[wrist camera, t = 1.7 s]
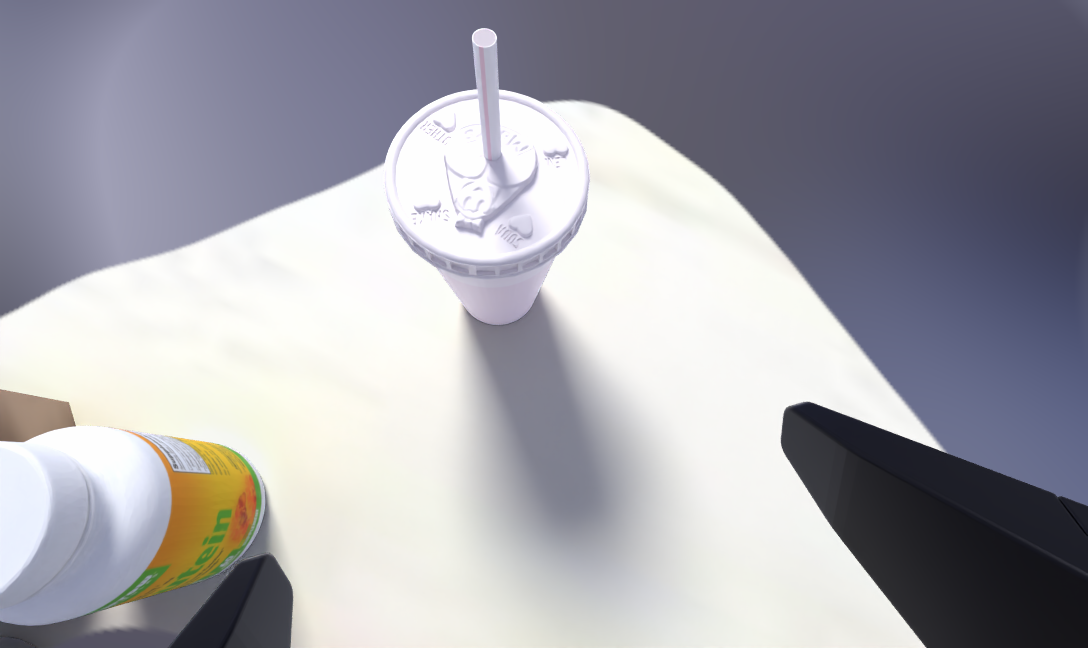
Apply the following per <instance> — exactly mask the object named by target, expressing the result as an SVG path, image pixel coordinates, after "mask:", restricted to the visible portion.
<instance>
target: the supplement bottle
mask: <svg viewBox="0 0 1088 648" xmlns="http://www.w3.org/2000/svg"><path fill="white" fill-rule="evenodd" d="M264 511H265V489H264V485H263V482H262V479H261V476H260V474H259V472H258V470H257V469H256V468H255V466H254V465H253V464H252V463H251V461H250V460H249V459H248V458H246V457H245V456H244V455H243V454H241V453H240V452H238V451H236V450H234V449H232V448H230V447H227V446H223V445H219V444H214V443H209V442H202V441H195V440H189V439H183V438H176V437H169V436H162V435H155V434H148V433H141V432H135V431H128V430H123V429H116V428H109V427H99V426H76V427H68V428H62V429H58V430H54V431H50V432H47V433H44V434H42V435H39V436H36V437H34V438H32V439H30V440H28V441H26V442H6V441H0V621H2V622H5V623H11V624H17V625H27V626H34V625H45V624H52V623H57V622H61V621H66V620H70V619H74V618H78V617H81V616H85V615H88V614H91V613H94V612H97V611H101V610H105V609H108V608H111V607H115V606H118V605H121V604H125V603H129V602H133V601H136V600H139V599H142V598H146V597H149V596H153V595H156V594H159V593H163V592H167V591H170V590H174V589H177V588H181V587H184V586H188V585H192V584H195V583H198V582H201V581H204V580H206V579H209V578H211V577H213V576H215V575H217V574H219V573H221V572H223V571H224V570H226V569H227V568H229V567H230V566H231V565H233V564H234V563H235V562H236V561H237V560H238V559H239V558H240V557H241V556H242V555H243V554H244V553H245V552H246V550H247V549H248V548H249V546H250V545H251V544H252V542H253V541H254V539H255V537H256V535H257V533H258V531H259V529H260V526H261V523H262V520H263V516H264Z"/></svg>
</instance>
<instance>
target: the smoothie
mask: <svg viewBox="0 0 1088 648" xmlns="http://www.w3.org/2000/svg"><path fill="white" fill-rule="evenodd" d="M472 42H473V52H474V62H475V73H476V81H477V90H469V91H464V92H459V93H455V94H452V95H448V96H446V97H443V98H440V99H438V100H437V101H434V102H432V103H430V104H429V105H427V106H425V107H424V108H422V109H421V110H420V111H419V112H417V113H416V114H415V115H413V116H412V117H411V118H410V119H409V120H408V121H407V122H406V123H405V124H404V125H403V127H402V128H401V129H400V131H399V132H398V133H397V135H396V137H395V138H394V140H393V142H392V144H391V146H390V148H389V151H388V154H387V157H386V161H385V166H384V189H385V194H386V198H387V202H388V204H389V210H390V212H391V215H392V218H393V220H394V223H395V225H396V228H397V230H398V232H399V234H400V235H401V236H402V237H403V239H404V240H405V241H406V242H407V244H408V245H409V246H410V248H411V249H412V250H413V251H414V252H415V253H416V254H418V255H419V256H420V257H422V258H423V259H425V260H426V261H427V262H429V263H430V264H431V265H433V266H434V267H436V268H437V269H438V271H439V272H440V274H441V275H442V276H443V278H444V279H445V281H446V282H447V283H448V285H449V286H450V287H451V289H452V290H453V292H454V293H455V294H456V296H457V297H458V299H459V300H460V301H461V303H462V304H463V306H464V307H465V308H466V310H467V311H468V312H469V313H470V314H471V315H472V316H473V317H474V318H476V319H477V320H479V321H481V322H484V323H487V324H491V325H504V324H509V323H512V322H515V321H517V320H518V319H520V318H521V317H523V316H524V315H525V314H526V313H527V312H528V311H529V310H530V308H531V307H532V305H533V303H534V301H535V299H536V297H537V294H538V292H539V290H540V288H541V286H542V284H543V282H544V280H545V278H546V276H547V273H548V271H549V269H550V267H551V265H552V263H553V261H554V259H555V257H556V256H557V255H559V254H560V253H561V252H562V251H563V250H564V249H565V247H566V246H567V245H568V244H569V243H570V241H571V240H572V239H573V238H574V236H575V235H576V234H577V232H578V230H579V227H580V225H581V223H582V220H583V218H584V216H585V213H586V209H587V199H588V191H589V183H590V171H589V164H588V160H587V156H586V153H585V150H584V148H583V145H582V143H581V141H580V139H579V138H578V136H577V135H576V133H575V131H574V130H573V129H572V128H571V126H570V125H569V124H568V123H567V122H566V121H565V120H564V119H563V118H562V117H561V116H560V115H559V114H557V113H556V112H555V111H554V110H552V109H551V108H549V107H548V106H546V105H544V104H543V103H541V102H539V101H537V100H535V99H533V98H530V97H527V96H525V95H522V94H518V93H515V92H509V91H504V90H499V84H498V60H497V37H496V34H495V33H494V32H493V31H492V30H490V29H486V28H485V29H484V28H483V29H479V30H477V31H475V33H474V34H473V36H472Z"/></svg>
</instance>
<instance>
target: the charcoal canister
mask: <svg viewBox="0 0 1088 648" xmlns="http://www.w3.org/2000/svg"><path fill="white" fill-rule="evenodd" d="M0 648H36V647H34V646H33V645H31V644H30V643H28V642H25V641H23V640H20V639H15V638H7V637H1V638H0Z"/></svg>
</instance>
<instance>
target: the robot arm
mask: <svg viewBox="0 0 1088 648" xmlns="http://www.w3.org/2000/svg"><path fill="white" fill-rule="evenodd" d="M781 446H782V449H783V451H784V453H785V455H786V457H787V458H788V460H789V462H790V463H791V465H792V466H793V468H794V469H795V471H796V472H797V474H798V476H799V477H800V479H801V480H802V482H803V483H804V485H805V487H806V488H807V490H808V491H809V493H810V494H811V496H812V498H813V499H814V501H815V502H816V504H817V505H818V507H819V508H820V510H821V512H822V513H823V515H824V516H825V518H826V519H827V521H828V522H829V524H830V525H831V527H832V528H833V529H834V531H835V532H836V533H837V535H838V536H839V537H840V539H841V540H842V541H843V542H844V544H845V545H846V546H847V547H848V549H849V550H850V551H851V553H852V554H853V555H854V556H855V558H856V559H857V560H858V561H859V563H860V564H861V565H862V567H863V568H864V569H865V570H866V572H867V573H868V574H869V575H870V577H871V578H872V579H873V581H874V582H875V583H876V584H877V586H878V587H879V588H880V589H881V591H882V592H883V593H884V595H885V596H886V597H887V598H888V600H889V601H890V602H891V603H892V605H893V606H894V607H895V609H896V610H897V611H898V612H899V614H900V615H901V616H902V617H903V619H904V620H905V621H906V623H907V624H908V625H909V626H910V628H911V629H912V630H913V631H914V633H915V634H916V635H917V637H918V638H919V639H920V640H921V642H922V643H923V644H924V645H925V647H926V648H1088V506H1086V505H1083V504H1081V503H1078V502H1075V501H1073V500H1070V499H1068V498H1065V497H1062V496H1059V497H1057V496H1056V495H1055V494H1054V493H1051V492H1049V491H1046V490H1043V489H1041V488H1038V487H1035V486H1033V485H1030V484H1027V483H1025V482H1022V481H1019V480H1016V479H1014V478H1011V477H1008V476H1006V475H1003V474H1001V473H998V472H995V471H993V470H990V469H987V468H984V467H982V466H979V465H977V464H974V463H971V462H969V461H966V460H963V459H961V458H958V457H955V456H953V455H950V454H947V453H945V452H942V451H939V450H937V449H934V448H931V447H929V446H926V445H923V444H921V443H918V442H915V441H913V440H910V439H908V438H905V437H902V436H900V435H897V434H894V433H892V432H889V431H886V430H884V429H881V428H878V427H876V426H873V425H870V424H868V423H865V422H862V421H860V420H857V419H854V418H852V417H849V416H846V415H844V414H841V413H838V412H836V411H833V410H830V409H828V408H825V407H822V406H820V405H817V404H814V403H811V402H802V403H799V404H795V405H791V406H788V407H787V408H786V409H785V411H784V415H783V424H782V434H781ZM292 610H293V591H292V586H291V584H290V582H289V580H288V578H287V577H286V575H285V573H284V572H283V570H282V569H281V567H280V565H279V564H278V562H277V561H276V559H275V558H274V556H273V555H271V554H270V553H263V554H260V555H256V556H253V557H249V558H245V559H243V560H242V561H240V562H239V563H238V564H237V565H236V566H235V568H234V569H233V570H232V571H231V572H230V574H229V575H228V576H227V577H226V578H225V580H224V581H223V582H222V583H221V584H220V586H219V587H218V588H217V589H216V590H215V592H214V593H213V594H212V595H211V596H210V598H209V599H208V600H207V601H206V602H205V604H204V605H203V606H202V607H201V608H200V610H199V611H198V612H197V613H196V615H195V616H194V617H193V618H192V619H191V621H190V622H189V623H188V624H187V625H186V627H185V628H184V629H183V630H182V631H181V633H180V634H179V635H178V636H177V637H176V639H175V640H174V641H173V642H172V643H171V645H170V646H169V647H168V648H290V646H291V628H292Z"/></svg>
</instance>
